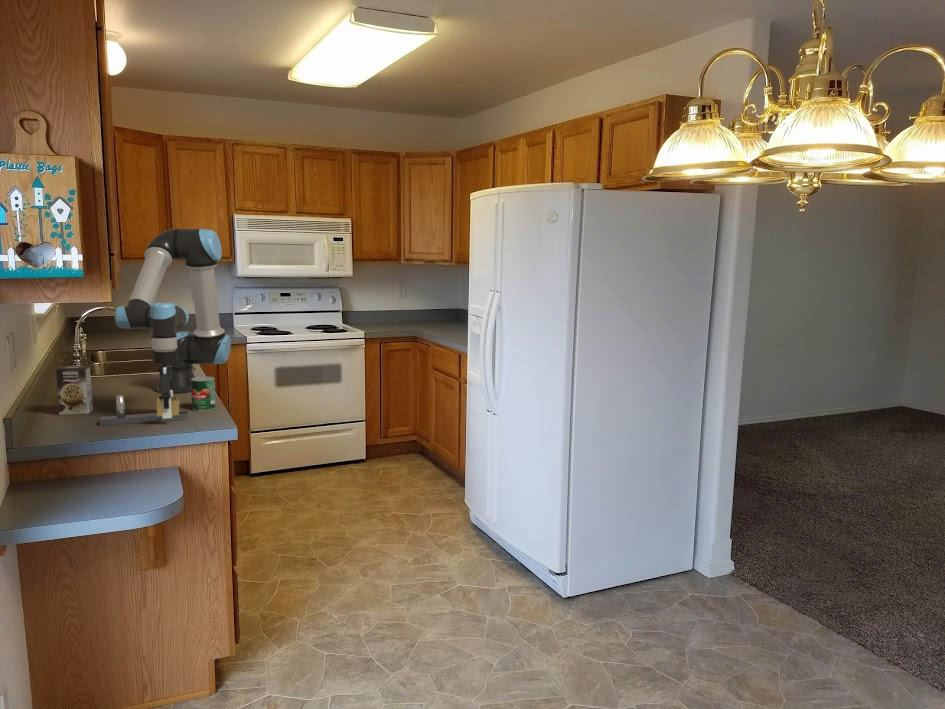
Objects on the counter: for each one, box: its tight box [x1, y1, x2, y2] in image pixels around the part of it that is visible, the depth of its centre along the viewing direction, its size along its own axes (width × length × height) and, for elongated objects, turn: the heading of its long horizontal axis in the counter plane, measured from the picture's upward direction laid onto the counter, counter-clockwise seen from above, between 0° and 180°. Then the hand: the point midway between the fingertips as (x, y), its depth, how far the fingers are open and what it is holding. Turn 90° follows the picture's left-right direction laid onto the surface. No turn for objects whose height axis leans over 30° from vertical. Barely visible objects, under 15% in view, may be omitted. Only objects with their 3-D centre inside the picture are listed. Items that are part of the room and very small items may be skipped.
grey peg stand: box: [99, 392, 189, 427], centre depth 222 cm, size 4×26×9 cm, turn 111°
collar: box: [155, 395, 181, 417], centre depth 225 cm, size 6×6×5 cm
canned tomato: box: [191, 376, 217, 412], centre depth 240 cm, size 8×8×11 cm
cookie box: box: [55, 365, 94, 416], centre depth 231 cm, size 9×6×16 cm
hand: (168, 413), depth 225 cm, fingers open, 13 cm apart
